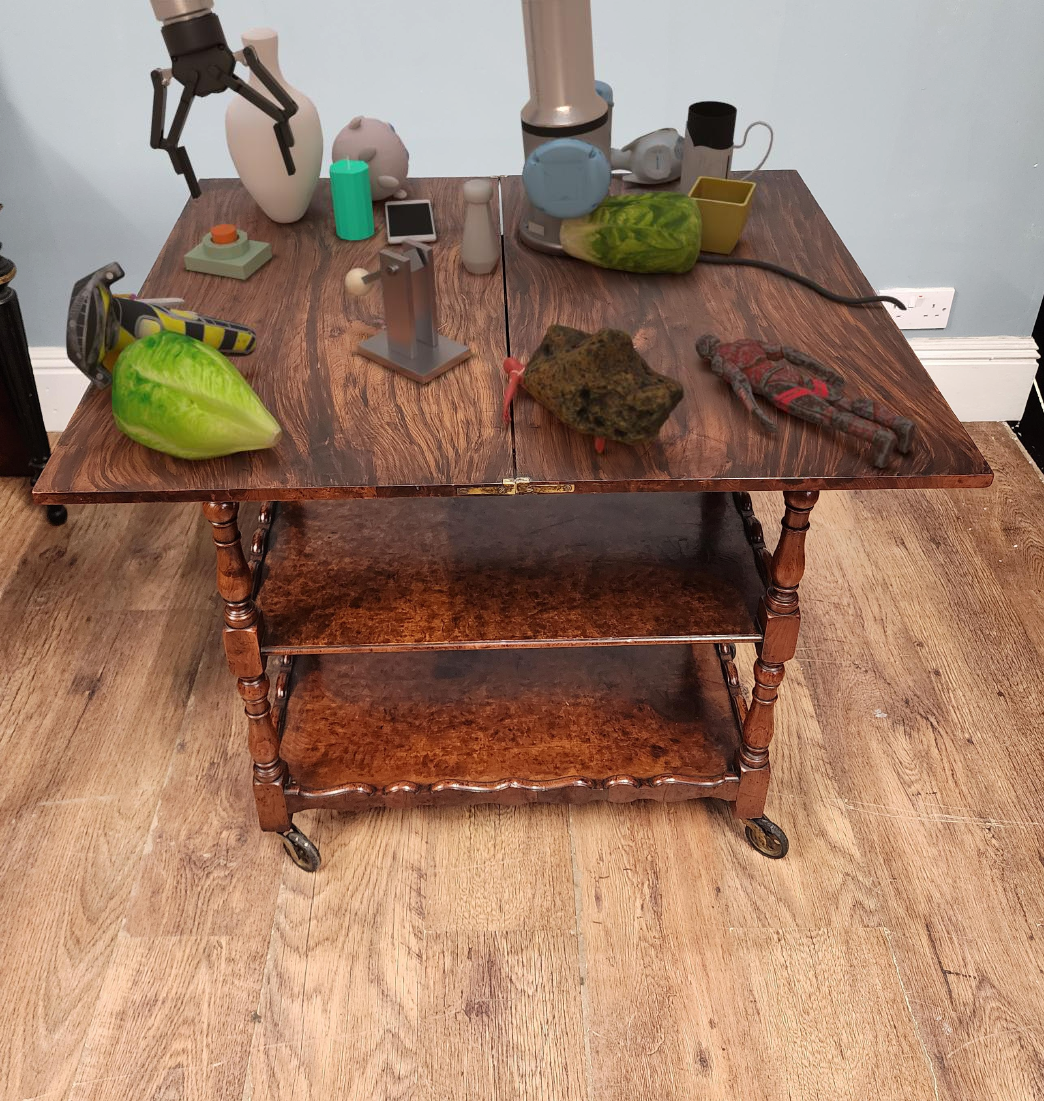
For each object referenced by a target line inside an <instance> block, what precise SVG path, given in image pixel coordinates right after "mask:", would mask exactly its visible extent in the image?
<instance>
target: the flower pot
mask: <svg viewBox="0 0 1044 1101" xmlns="http://www.w3.org/2000/svg"><path fill="white" fill-rule="evenodd" d="M756 187H757V183H756V182H753V181H752V182H751V181H746V180H744V181H738V180H735V179H730V180H726V179H719V178H712V177H703V176H700V177H699V178H698V179H697V181H696V183H695V184H694V186H693V188H692V189H691V191H690V192H689V194H688V196H689V197H691V198H693V199H694V200H696V202H697V205H698V208H699V211H700V213H701V219H702V240H701V247H700V252H707V253H713V254H715V253H716V254H721V255H730V254H731V253H732V251H733V250H734V249H735V247H736V245H737V243H738V241H739V239H740V236H741V234H742V232H743V230H744V229H745V227H746V224H747V223H748V219H749V217H750V213H751V210H752V206H753V200H754V196H755V192H756Z"/></svg>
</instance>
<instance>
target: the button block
mask: <svg viewBox="0 0 1044 1101" xmlns="http://www.w3.org/2000/svg"><path fill="white" fill-rule="evenodd" d="M236 232H237V237H238V240H237V241H236V242H233V243H230V244H222V245H221V244H215V243H213V240H212V235H211V231H210V232H208V233H206V234H205V235H204V236H202V239H201V240H202V241H201V242H200V243H199V244H197V245H196V246H195V247H194V248H192V249H190V250H189V251H188V252H187V253H185V254H184V255H183V261H184V265H185V269H186V270H187V271H193V272H198V273H203V274H209V275H216V276H221V277H226V278H231V279H238V280H243V281H245V280H247V279H248V278H249V277H250V276H252V275H253V274H254V273H255V272H257V270H259V269H260V268H261V267H262V266H264V265H265V263H267V262H268V261H269V260H271V259H272V258H273V252H272V247H271V243H270V242H264V241H259V240H251V239H249V235H248V233H247V232H245V231H244V230H242V229H238V228H236Z"/></svg>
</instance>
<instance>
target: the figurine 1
mask: <svg viewBox="0 0 1044 1101" xmlns="http://www.w3.org/2000/svg"><path fill="white" fill-rule="evenodd" d="M528 362H529V361H528ZM528 362H526V363H525V362H524V364H523V365H522V364H521V363H520V361H519V360H518V359H517V358H515V357H512V356H510V357H506V358H505V359H504V361H503V365H502V367H503V371H504V372H505V374H506V375H507V376H508V385H507V387H506V389H505V393H504V399H503V406H502V407H503V409H502V418H503V419H502V420H503V424H504V425H508V421H507V418H508V420H509V421H510V422H511V421H512V418H511V412H510V411H509V406H510V405H511V402H512V401H513V399H514V396H515V395H516V392H517V387H518V385H519V384H520V386H521V388H522V389H523V390H525V391H527V390H526V388H525V386H524V384H523V382H522V375H523V372H524V369H525V366H526V364H527V363H528ZM594 442H595V444H594V446H595V447H594V448H595V451H596V452H597V453H602V452H603V450H604V448H605V444H606V438H605V439H601V438H598V437H596V436H595V441H594Z"/></svg>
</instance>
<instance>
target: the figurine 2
mask: <svg viewBox="0 0 1044 1101" xmlns="http://www.w3.org/2000/svg"><path fill="white" fill-rule="evenodd" d="M695 351H696V353H697V355H698V356H699V358H700V359H701V360H703V361H704V362H706V363H708V364H709V365H711V370H712V373H713V374H714V375H716V376H717V377H718V378H723V380H725V381H726V382H727V383H729V384H730V385H731V387H732V390H733V392H734V394H735V395H736V396H737V397H738V399H740V400H741V401H742V402H743V404H744V405H745V407H746V408H747V409H748V411H749V412H750V413H751V415H753V417H754V419H755V420H756V421H757V422H758V424H759V423H760V425H761V426H762V428H763V429H765V430H766V431H767V432H769V433H772V434H775V433H777V432H778V430H777V429H778V427H777V423H776V422H774V421H772V420H771V419H769V418H768V417H767V416H766V415H765V413H764V412H763V410H762V409H760V407H759V405H758V404H757V402H756V399H755V398H754V394H756V395H759V396H762V397H766V398H767V400H768V401H769V402H770V403H771V404H772V405H773V406H775V407H776V408H778V409H780V410H781V411H784V412H787V413H789V414H790V415H793V416H794V417H797V418H800V419H803V420H804V421H807V422H809V423H812V424H815V425H822V426H823V427H824V428H827V429H830V430H837V431H838V432H841V433H843V434H846V435H849V436H852V437H855V438H857V439H859V440H861V441H864V442H866V443H869V444H872V445H873V447H874V448H875V450H876V455H875V459H874V466H875V467H877V468H879V469H882V468H883V469H884V468H886V467H887V466H888V464H889V461H890V458H891V455H892V452H893V449H894V447H895V445H896V441H897V449H898V451H899V452H900V453H903V454H906V453H907V452H908V451H909V450H910V449H911V448H912V446H913V444H914V440H915V435H916V434H915V433H916V427H917V426H916V425H917V424H916V422H915V421H913V420H911V419H909V418H908V417H904V416H902V415H897V414H895V413H894V412H892V411H891V410H889V409H887V408H886V407H884V406H883V405H881V404H880V403H879V402H877V401H876V400H875V399H872V398H869V397H859V398H855V399H851V398H848V397H847V396H845V395H843V394H841V391H845V388H846V387H847V385H846V379H845V378H844V377H843V376H842V375H840V374H839V373H837V372H836V371H835V370H834V369H832V368H830V367H827V365H826V364H824V363H823V362H821V361H820V360H818V359H816V358H814V357H813V356H811V355H809V354H807V353H805V352H803V351H801V350H799V349H795V347H794V346H790V345H783V346H782V345H781V344H778V343H774V342H770V341H763V340H761V339H760V338H755V337H754V338H753V337H749V338H740V339H737V340H735V341H733V342H722V341H721V340H720V339H719V338H718V337H716V336H715V335H712V334H709V333H705V334H702V335H701V336H700V337H698V339H697V340H696V342H695ZM784 359H785V360H786V361H787V362H788V363H789V364H791V365H793V366H794V367H797V368H799V369H803V370H806V371H808V372H811V373H813V375H814V374H815V375H816V376H818V377H820V379H821V380H820V379H817V378H810V377H808V376H806V375H804V374H802V373H800V372H799V371H796V370H792V369H787V368H785V367H784V366H781V365H775V364H773V363H772V362H780V361H781V360H784ZM866 421H868V422H866ZM869 422H871V423H873V424H876V425H878V426H881V427H883V428H885V429H886V430H885V429H883V428H877V427H875V426H874V425H872V424H870V423H869ZM887 429H888V430H890V431H891V432H892V433H893V434H892V433H890V432H889V431H887Z"/></svg>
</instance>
